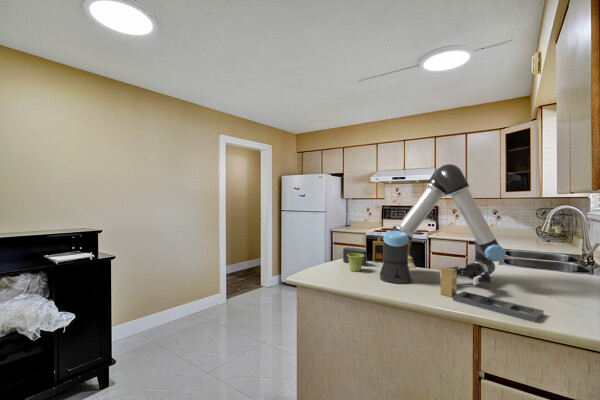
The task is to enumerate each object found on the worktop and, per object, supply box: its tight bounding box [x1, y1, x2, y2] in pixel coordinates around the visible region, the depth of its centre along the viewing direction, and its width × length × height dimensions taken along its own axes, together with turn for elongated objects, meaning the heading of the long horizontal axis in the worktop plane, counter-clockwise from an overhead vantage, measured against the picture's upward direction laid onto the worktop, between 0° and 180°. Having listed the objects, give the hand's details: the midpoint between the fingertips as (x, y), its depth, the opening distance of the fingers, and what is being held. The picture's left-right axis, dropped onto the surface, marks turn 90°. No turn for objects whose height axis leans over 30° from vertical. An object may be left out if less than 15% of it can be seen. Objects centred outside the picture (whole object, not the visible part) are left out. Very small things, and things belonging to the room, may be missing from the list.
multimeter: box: [367, 230, 387, 263], centre depth 188 cm, size 15×10×20 cm
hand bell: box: [408, 241, 416, 269], centre depth 173 cm, size 8×8×16 cm
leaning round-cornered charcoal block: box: [342, 247, 368, 267], centre depth 178 cm, size 16×5×9 cm, turn 47°
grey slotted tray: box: [452, 291, 544, 323], centre depth 108 cm, size 26×10×2 cm, turn 39°
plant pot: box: [347, 253, 364, 273], centre depth 161 cm, size 9×9×9 cm
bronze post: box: [440, 266, 458, 299], centre depth 121 cm, size 4×4×11 cm
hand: (456, 277), depth 124 cm, fingers open, 13 cm apart
